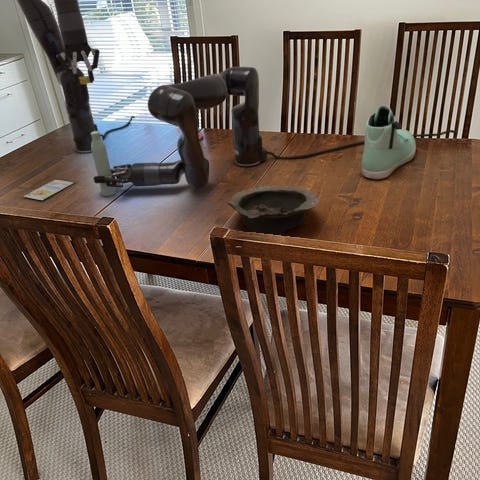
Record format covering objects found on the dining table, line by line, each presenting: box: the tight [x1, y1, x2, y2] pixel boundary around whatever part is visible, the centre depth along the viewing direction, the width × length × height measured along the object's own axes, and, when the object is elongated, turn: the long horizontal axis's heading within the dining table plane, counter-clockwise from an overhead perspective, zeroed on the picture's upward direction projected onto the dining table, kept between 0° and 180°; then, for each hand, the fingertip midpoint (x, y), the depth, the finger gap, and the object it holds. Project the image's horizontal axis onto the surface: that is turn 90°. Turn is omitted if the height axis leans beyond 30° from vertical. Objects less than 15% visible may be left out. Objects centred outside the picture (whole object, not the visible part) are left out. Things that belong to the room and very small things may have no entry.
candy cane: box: [198, 132, 204, 141], centre depth 196 cm, size 6×15×2 cm, turn 145°
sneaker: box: [361, 105, 417, 180], centre depth 160 cm, size 14×34×20 cm, turn 152°
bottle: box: [91, 130, 116, 197], centre depth 154 cm, size 4×4×21 cm
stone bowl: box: [226, 184, 320, 236], centre depth 133 cm, size 25×25×9 cm
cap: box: [79, 75, 91, 85], centre depth 159 cm, size 4×4×2 cm
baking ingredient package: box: [23, 179, 74, 201], centre depth 165 cm, size 9×1×15 cm
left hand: (85, 83), depth 159 cm, fingers closed on cap, 3 cm apart
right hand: (97, 176), depth 157 cm, fingers closed on bottle, 4 cm apart
